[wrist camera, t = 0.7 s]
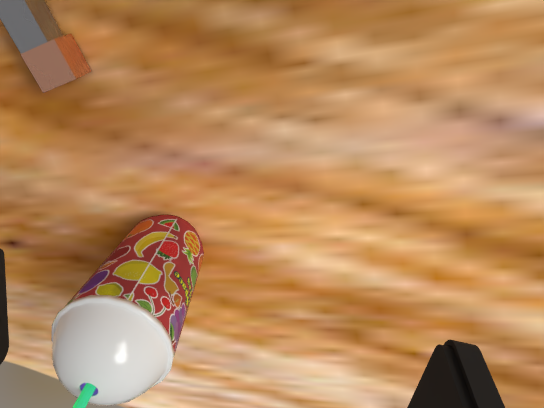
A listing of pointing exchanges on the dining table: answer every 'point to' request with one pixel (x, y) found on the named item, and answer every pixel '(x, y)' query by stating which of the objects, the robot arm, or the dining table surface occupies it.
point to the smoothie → (128, 315)
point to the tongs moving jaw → (42, 43)
